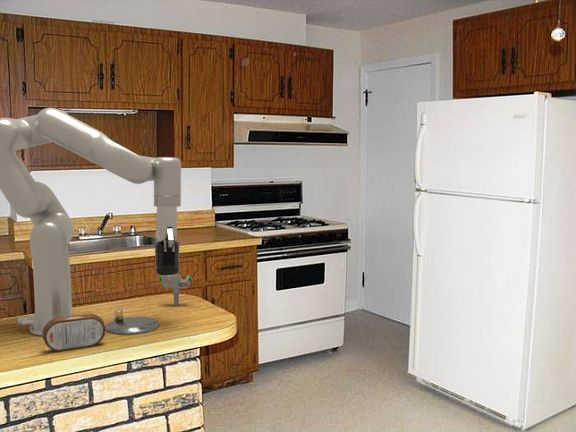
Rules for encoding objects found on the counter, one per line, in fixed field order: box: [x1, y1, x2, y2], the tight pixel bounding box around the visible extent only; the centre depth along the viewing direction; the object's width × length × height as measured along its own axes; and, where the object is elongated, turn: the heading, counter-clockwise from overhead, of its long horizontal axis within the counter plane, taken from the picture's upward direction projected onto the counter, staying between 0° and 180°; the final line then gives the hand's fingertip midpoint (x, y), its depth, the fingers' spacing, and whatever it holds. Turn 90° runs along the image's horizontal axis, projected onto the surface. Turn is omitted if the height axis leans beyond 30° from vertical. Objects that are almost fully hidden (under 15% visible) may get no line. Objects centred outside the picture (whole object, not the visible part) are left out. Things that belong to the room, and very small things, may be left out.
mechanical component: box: [158, 274, 193, 307], centre depth 187 cm, size 3×10×10 cm, turn 89°
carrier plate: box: [104, 308, 160, 336], centre depth 166 cm, size 15×15×4 cm
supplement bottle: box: [154, 237, 180, 276], centre depth 166 cm, size 7×7×12 cm
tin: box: [42, 313, 106, 352], centre depth 147 cm, size 15×3×8 cm, turn 118°
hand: (167, 262), depth 166 cm, fingers closed on supplement bottle, 6 cm apart
